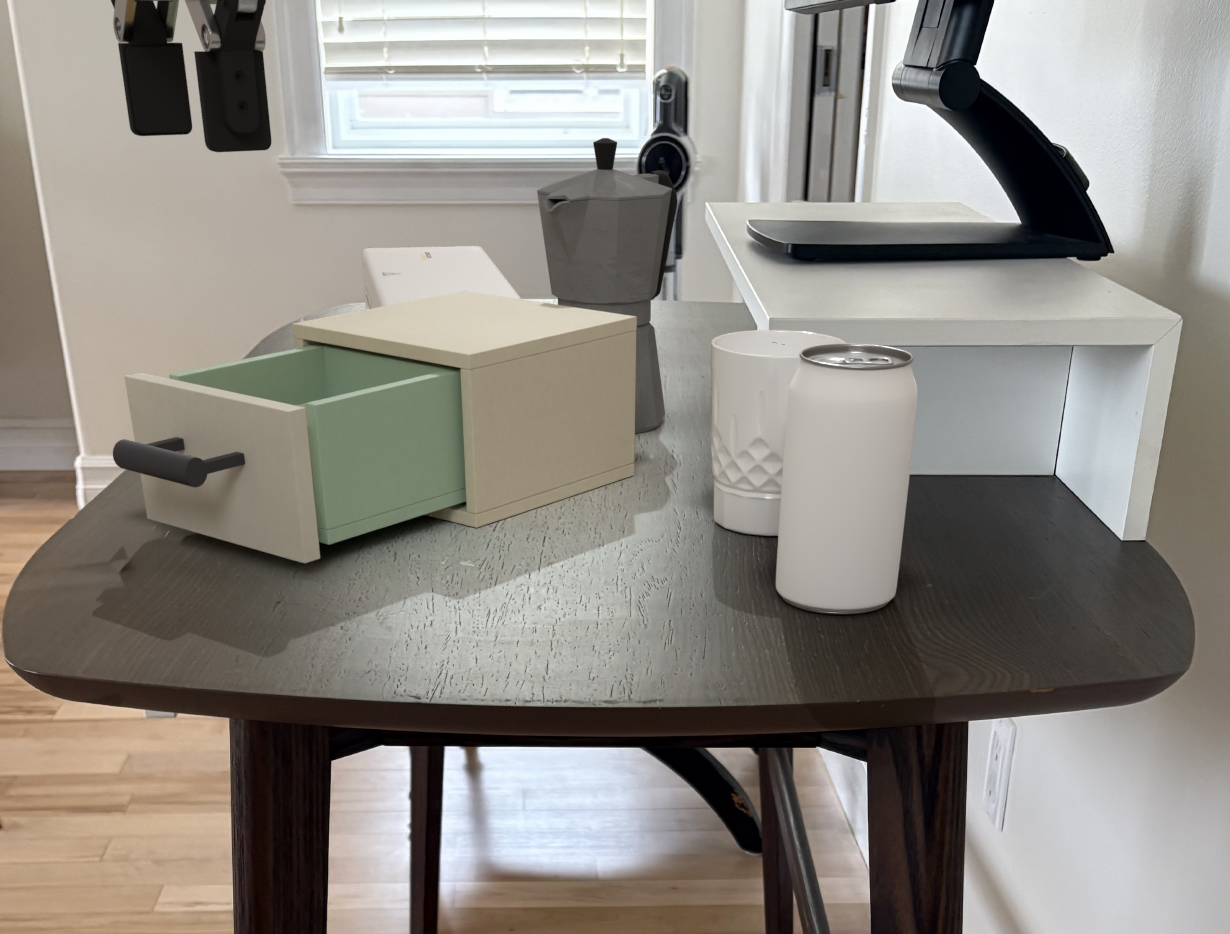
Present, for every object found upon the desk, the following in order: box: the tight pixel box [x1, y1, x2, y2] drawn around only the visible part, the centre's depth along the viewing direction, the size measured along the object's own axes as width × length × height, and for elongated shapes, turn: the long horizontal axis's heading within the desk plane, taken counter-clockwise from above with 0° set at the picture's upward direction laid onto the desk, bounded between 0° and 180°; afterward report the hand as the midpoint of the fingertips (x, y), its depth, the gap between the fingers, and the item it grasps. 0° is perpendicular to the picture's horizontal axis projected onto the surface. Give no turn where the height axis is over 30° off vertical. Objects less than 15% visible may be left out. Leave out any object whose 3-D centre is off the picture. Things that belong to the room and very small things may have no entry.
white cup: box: [710, 329, 849, 537], centre depth 93 cm, size 8×8×10 cm
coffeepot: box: [536, 137, 678, 434], centre depth 112 cm, size 15×9×18 cm, turn 146°
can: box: [775, 343, 919, 616], centre depth 81 cm, size 6×6×12 cm
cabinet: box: [291, 291, 637, 528], centre depth 100 cm, size 16×15×10 cm
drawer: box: [112, 343, 466, 564], centre depth 90 cm, size 19×13×8 cm
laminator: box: [361, 245, 522, 310], centre depth 134 cm, size 34×12×6 cm, turn 11°
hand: (199, 141), depth 79 cm, fingers open, 9 cm apart
